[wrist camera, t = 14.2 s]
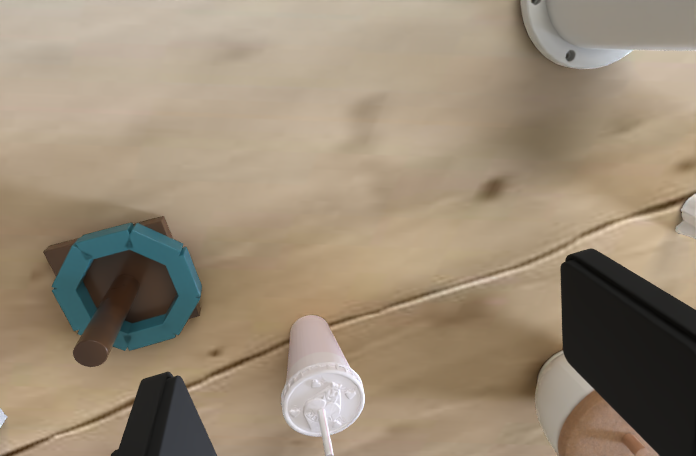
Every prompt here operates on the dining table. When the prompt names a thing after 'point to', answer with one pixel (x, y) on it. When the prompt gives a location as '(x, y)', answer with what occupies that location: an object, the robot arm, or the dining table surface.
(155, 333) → the ring
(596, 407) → the lidded bowl
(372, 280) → the dining table surface
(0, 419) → the white milk carton
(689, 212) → the white twin peak shape
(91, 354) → the brown peg stand
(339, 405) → the smoothie
